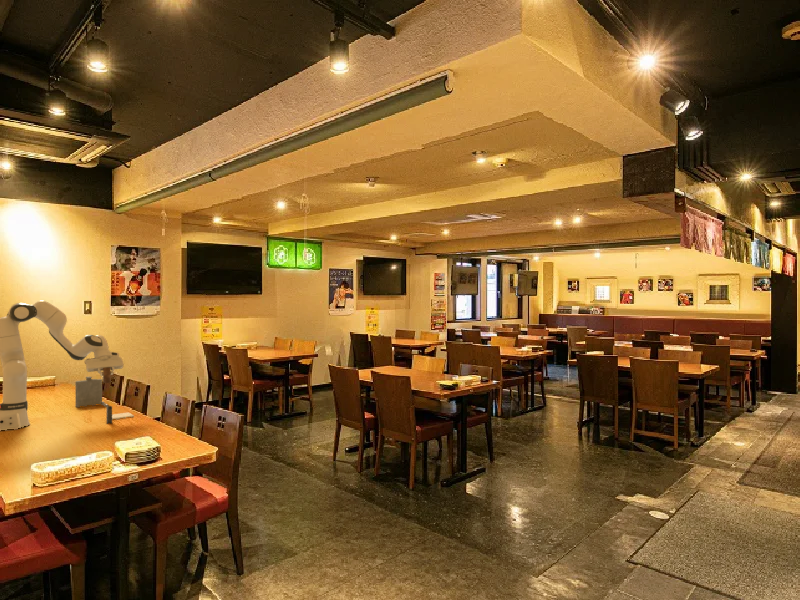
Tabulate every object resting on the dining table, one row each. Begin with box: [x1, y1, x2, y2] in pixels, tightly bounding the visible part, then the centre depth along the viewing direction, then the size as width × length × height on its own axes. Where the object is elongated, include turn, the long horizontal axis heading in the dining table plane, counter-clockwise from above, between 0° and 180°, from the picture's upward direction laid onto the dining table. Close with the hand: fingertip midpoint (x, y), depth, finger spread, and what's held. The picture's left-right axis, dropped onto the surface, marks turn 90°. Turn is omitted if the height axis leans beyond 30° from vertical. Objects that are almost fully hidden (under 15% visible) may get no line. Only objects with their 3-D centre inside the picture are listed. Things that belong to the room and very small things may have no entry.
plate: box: [112, 411, 135, 421], centre depth 321 cm, size 12×12×1 cm
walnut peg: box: [102, 367, 112, 384], centre depth 315 cm, size 4×4×9 cm
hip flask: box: [75, 376, 103, 408], centre depth 356 cm, size 16×4×20 cm, turn 130°
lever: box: [100, 401, 113, 425], centre depth 310 cm, size 2×18×10 cm, turn 42°
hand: (107, 374), depth 315 cm, fingers closed on walnut peg, 4 cm apart
